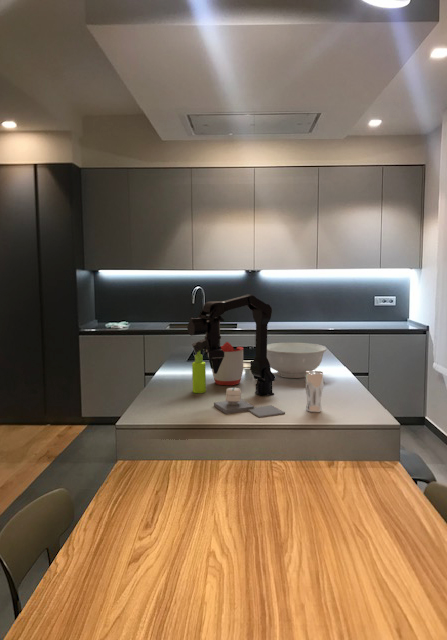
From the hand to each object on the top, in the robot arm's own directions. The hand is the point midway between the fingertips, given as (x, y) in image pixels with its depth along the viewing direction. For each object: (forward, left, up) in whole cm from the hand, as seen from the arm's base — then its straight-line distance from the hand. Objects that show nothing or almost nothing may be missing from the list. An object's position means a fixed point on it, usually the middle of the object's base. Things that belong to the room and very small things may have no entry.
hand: (213, 371), depth 207 cm
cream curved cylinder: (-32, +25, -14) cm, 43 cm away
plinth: (-5, +9, -14) cm, 17 cm away
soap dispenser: (-2, -21, -14) cm, 25 cm away
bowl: (-56, -32, -14) cm, 66 cm away
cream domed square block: (-5, +9, -10) cm, 14 cm away
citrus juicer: (-20, -31, -14) cm, 39 cm away
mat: (-14, +19, -14) cm, 27 cm away
